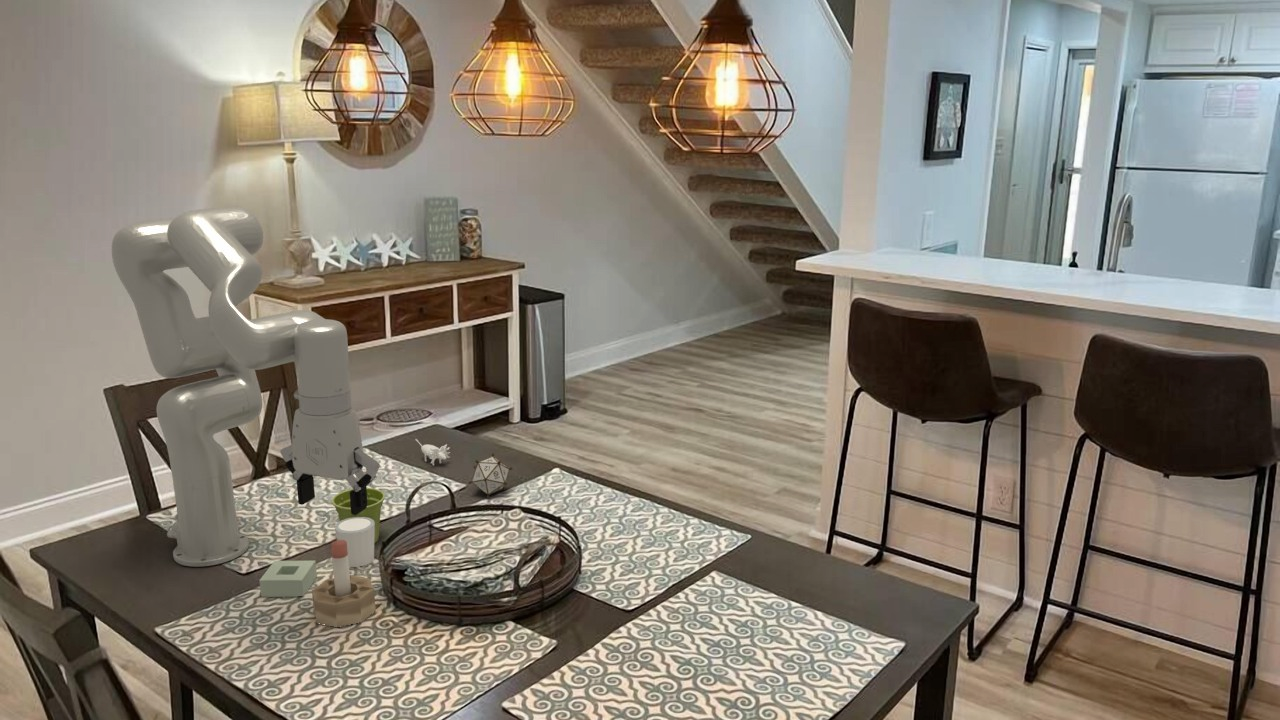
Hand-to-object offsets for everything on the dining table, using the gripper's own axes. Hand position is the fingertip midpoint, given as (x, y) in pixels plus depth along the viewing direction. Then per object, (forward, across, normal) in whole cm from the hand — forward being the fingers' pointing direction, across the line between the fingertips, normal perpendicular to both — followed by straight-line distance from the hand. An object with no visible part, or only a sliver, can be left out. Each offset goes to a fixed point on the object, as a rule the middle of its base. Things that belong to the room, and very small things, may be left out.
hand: (332, 506), depth 150 cm
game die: (+19, 0, +51) cm, 54 cm away
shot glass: (+19, -8, +16) cm, 26 cm away
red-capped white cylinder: (+18, +1, 0) cm, 18 cm away
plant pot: (+19, -12, +23) cm, 32 cm away
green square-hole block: (+18, -13, +4) cm, 23 cm away
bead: (+18, +1, 0) cm, 18 cm away
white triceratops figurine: (+20, -22, +63) cm, 69 cm away
